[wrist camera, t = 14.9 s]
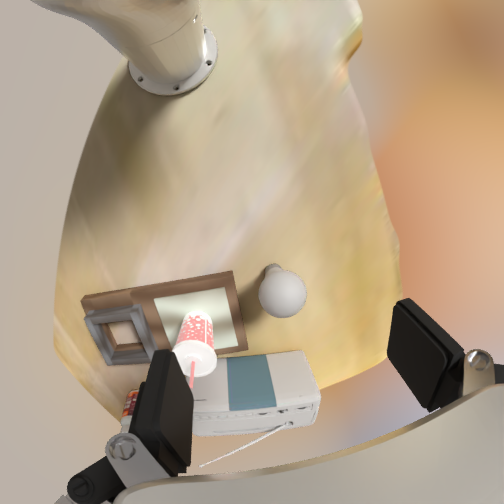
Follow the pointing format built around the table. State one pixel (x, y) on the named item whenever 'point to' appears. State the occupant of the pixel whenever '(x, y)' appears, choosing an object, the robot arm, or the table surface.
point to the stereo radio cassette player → (255, 396)
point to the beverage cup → (196, 346)
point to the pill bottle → (128, 411)
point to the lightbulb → (282, 292)
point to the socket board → (165, 316)
